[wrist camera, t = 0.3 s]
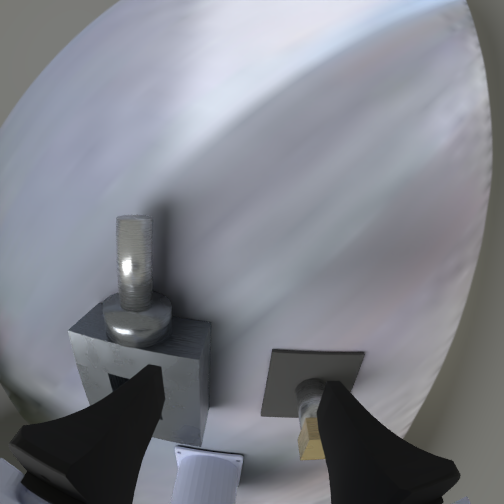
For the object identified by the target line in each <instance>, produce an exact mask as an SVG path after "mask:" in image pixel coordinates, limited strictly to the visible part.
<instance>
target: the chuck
mask: <svg viewBox="0 0 504 504" xmlns="http://www.w3.org/2000/svg"><path fill="white" fill-rule="evenodd" d="M152 228H153V217H151V216H146V215H124V216H118V217H117V218H116V246H117V272H118V287H119V293H116V294H114V295H111V296H110V297H108V298H107V299H106V300H105V301H104V302H103V304H100V303H99V304H97V305H96V306H95V307H94V308H93V309H92V310H90V311H89V312H88V313H87V314H86V315H85V316H84V317H82V318H81V319H80V320H79V321H78V322H77V323H76V324H75V325H73V326H72V327H71V328H70V329H69V330H68V333H69V337H70V342H71V346H72V350H73V353H74V357H75V361H76V364H77V368H78V371H79V374H80V377H81V380H82V384H83V387H84V390H85V392H86V395H87V398H88V401H89V404H90V406H91V405H93V404H95V403H96V402H98V401H100V400H101V399H103V398H104V397H106V396H107V395H109V394H110V393H112V392H113V391H115V390H116V389H118V388H119V387H120V386H122V385H123V384H124V383H125V382H127V381H128V380H129V379H131V378H132V377H133V376H134V375H136V374H137V373H138V372H139V371H140V370H142V369H143V368H144V367H145V366H147V365H148V364H151V365H156V366H161V367H162V376H163V384H164V392H165V402H164V406H163V409H162V413H161V416H160V419H159V421H158V424H157V426H156V428H155V431H154V433H153V435H152V437H154V438H158V439H162V440H167V441H172V442H176V443H182V444H187V445H193V446H199V447H201V445H202V440H203V435H204V430H205V425H206V420H207V415H208V411H209V373H210V338H211V322H207V321H199V320H192V319H185V318H178V317H172V308H171V301H170V300H169V299H168V298H167V297H166V296H164V295H162V294H160V293H157V292H153V284H152Z"/></svg>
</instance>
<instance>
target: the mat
mask: <svg viewBox="0 0 504 504" xmlns="http://www.w3.org/2000/svg"><path fill="white" fill-rule="evenodd" d="M364 355H365V354H364V353H363V352H309V351H288V350H273V349H272V354H271V360H270V366H269V371H268V377H267V383H266V388H265V394H264V399H263V404H262V409H261V416H264V417H290V418H299V414H298V407H297V400H296V394H295V389H296V387H297V385H298V384H299V383H301V382H302V381H304V380H306V379H310V378H317V379H321V380H323V381H324V382H325V384H326V382H327V381H340V382H341V383H342V384H343V385H344V386H345V387H346V388H347V389H348V390H349V392H351V390H352V387H353V385H354V382H355V380H356V377H357V375H358V372H359V369H360V367H361V364H362V361H363V358H364Z"/></svg>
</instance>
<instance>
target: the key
mask: <svg viewBox="0 0 504 504" xmlns="http://www.w3.org/2000/svg"><path fill="white" fill-rule="evenodd" d="M325 385H326V384H325V382H324V381H323V380H321V379H317V378H310V379H306V380H304V381H302V382H301V383H299V384H298V385H297V387H296V389H295V394H296V400H297V407H298V414H299V420H300V427H301V432H300V435H299V437H298V445H299V453H300V460H316V459H325V455H324V451H323V447H322V443H321V439H320V435H319V431H318V422H317V409H318V406H319V403H320V400H321V397H322V394H323V391H324V388H325Z"/></svg>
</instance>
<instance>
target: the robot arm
mask: <svg viewBox="0 0 504 504" xmlns="http://www.w3.org/2000/svg"><path fill="white" fill-rule="evenodd" d="M164 402H165V392H164V384H163V376H162V367H161V366H156V365H151V364H148V365H147V366H145V367H144V368H143V369H142V370H140V371H139V372H138V373H137V374H136V375H134V376H133V377H132V378H131V379H129V380H128V381H127V382H125V383H124V384H123V385H122V386H120V387H119V388H118V389H116V390H115V391H113V392H112V393H110V394H109V395H107V396H106V397H104V398H103V399H101V400H100V401H98V402H96V403H95V404H93V405H91V406H89V407H87V408H85V409H83V410H81V411H78V412H76V413H73V414H71V415H68V416H65V417H62V418H59V419H56V420H52V421H48V422H44V423H38V424H32V425H24V426H22V428H21V429H20V430H19V431H18V433H17V434H16V435H15V436H14V438H13V439H12V440H11V442H10V443H9V448H10V450H11V452H12V453H13V455H14V456H15V457H16V458H17V459H18V461H19V462H20V463H21V464H22V465H23V467H24V468H25V469H26V470H27V473H26V474H25V475H24V474H23V473H22V472H20V471H19V470H18V469H16V468H15V467H14V466H12V465H11V464H10V463H8V462H7V461H5V460H4V459H3V458H1V459H0V504H132V502H133V496H134V491H135V487H136V483H137V478H138V474H139V471H140V467H141V463H142V460H143V457H144V454H145V452H146V449H147V447H148V445H149V442H150V440H151V438H152V435H153V433H154V431H155V428H156V426H157V424H158V421H159V419H160V416H161V413H162V409H163V406H164ZM317 422H318V431H319V435H320V439H321V443H322V447H323V451H324V455H325V459H326V463H327V467H328V473H329V480H330V490H331V504H442V503H443V499H442V496H443V495H444V494H445V493H446V492H447V491H448V490H449V489H451V488H452V487H453V486H454V485H455V484H456V483H457V482H458V480H459V479H460V473H459V471H458V469H457V467H456V465H455V464H454V462H453V461H452V460H448V459H445V458H442V457H438V456H435V455H433V454H431V453H428V452H426V451H424V450H421V449H419V448H417V447H415V446H413V445H412V444H410V443H408V442H406V441H405V440H403V439H402V438H400V437H398V436H397V435H396V434H394V433H393V432H391V431H390V430H389V429H387V428H386V427H385V426H384V425H382V424H381V423H380V422H379V421H378V420H377V419H376V418H374V417H373V416H372V415H371V414H370V413H369V412H368V411H367V410H366V409H365V408H364V407H363V406H362V405H361V404H360V403H359V402H358V400H357V399H356V398H355V397H354V396H353V395H352V394H351V393H350V392H349V390H348V389H347V388H346V387H345V386H344V385H343V384H342V383H341V382H340V381H327V382H326V385H325V388H324V391H323V394H322V397H321V400H320V403H319V406H318V409H317ZM175 454H176V459H177V464H178V473H177V477H176V481H175V485H174V489H173V493H172V497H171V502H170V504H235V503H236V490H237V487H238V486H239V481H240V475H241V469H242V463H243V456H242V455H235V454H225V453H217V452H209V451H203V450H196V449H190V448H185V447H180V446H176V447H175ZM452 504H471V503H470V501H469V499H468V497H467V496H466V497H464V498H462V499H460V500H458V501H456V502H454V503H452Z"/></svg>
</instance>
